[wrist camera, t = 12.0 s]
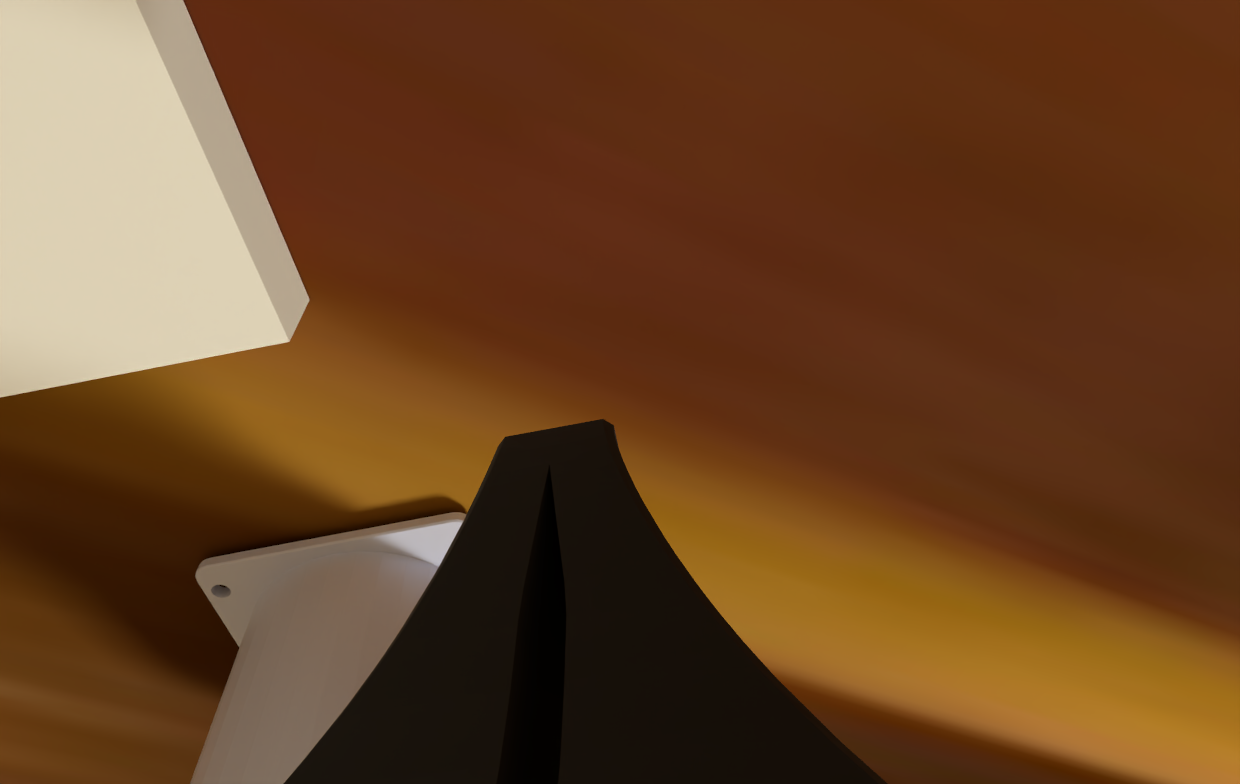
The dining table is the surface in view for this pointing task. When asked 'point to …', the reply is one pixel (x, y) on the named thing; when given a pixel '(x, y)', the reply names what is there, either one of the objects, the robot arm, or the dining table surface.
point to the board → (126, 200)
